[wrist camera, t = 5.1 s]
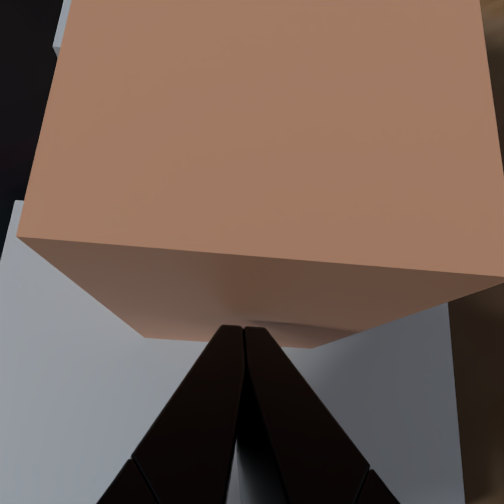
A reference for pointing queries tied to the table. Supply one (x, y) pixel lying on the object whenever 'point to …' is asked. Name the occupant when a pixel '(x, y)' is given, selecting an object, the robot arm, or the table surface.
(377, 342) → the trap board
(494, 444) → the table surface
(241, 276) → the block
